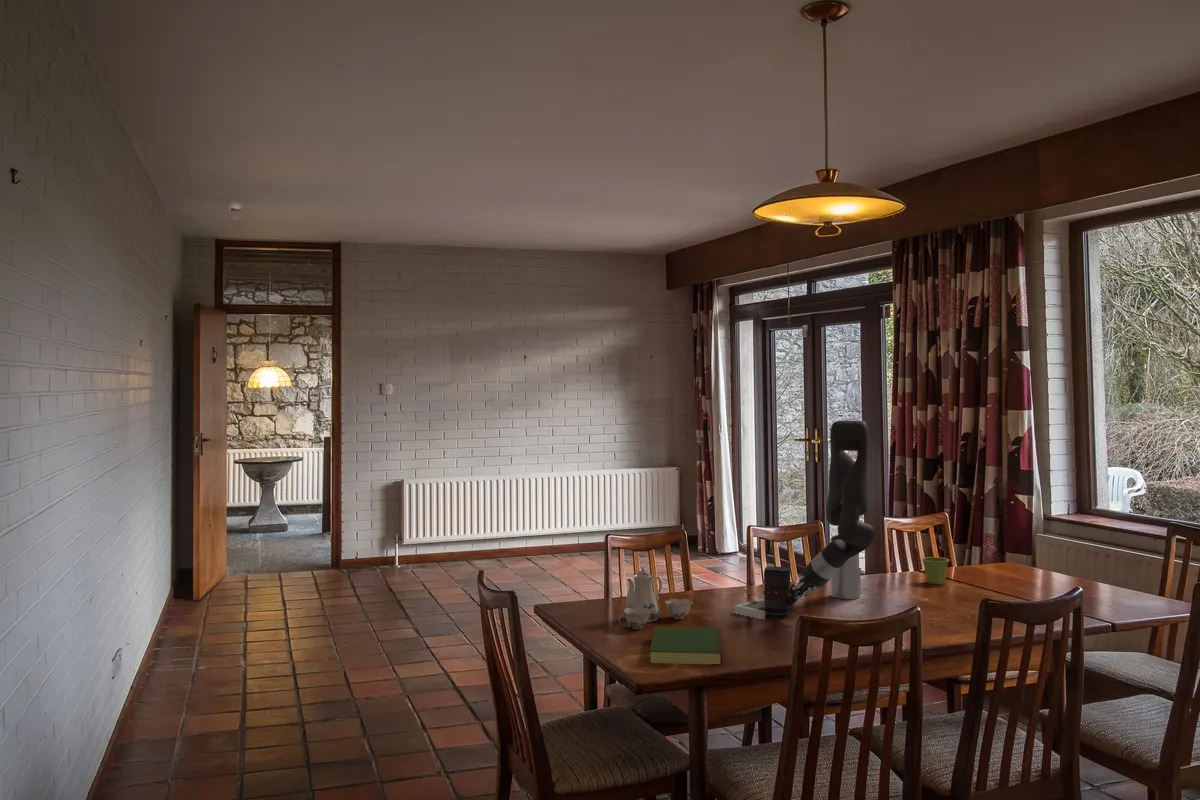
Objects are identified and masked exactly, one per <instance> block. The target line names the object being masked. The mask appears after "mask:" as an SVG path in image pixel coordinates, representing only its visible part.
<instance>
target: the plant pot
mask: <svg viewBox="0 0 1200 800" xmlns="http://www.w3.org/2000/svg"><path fill="white" fill-rule="evenodd" d="M921 560H922V563H923V567H924V572H925V578H926V579H925V581H926V583H927V584H929V585H933V584H934V585H944V584H945V583H946V576H947V568H948V564H949V562H950V559H949V558H945V557H939V556H937V557H935V556H927V557H922V558H921Z"/></svg>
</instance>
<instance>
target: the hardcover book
mask: <svg viewBox="0 0 1200 800" xmlns="http://www.w3.org/2000/svg"><path fill="white" fill-rule="evenodd" d="M722 635H723V634H722V628H719V627H718V628H716V627H715V628H713V627H677V626H676V627H671V626H669V627H667V626H654V629H653V634H652V639H651V643H650V645H649V646H650V647H649V651H648V652H650V664H670V665H671V664H672V665H673V664H676V665H711V664H721V665H720V666H723V636H722Z"/></svg>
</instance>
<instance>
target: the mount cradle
mask: <svg viewBox="0 0 1200 800" xmlns="http://www.w3.org/2000/svg"><path fill="white" fill-rule="evenodd" d="M762 607H763V608H762ZM733 608H734V609H733V614H734V613H736V614H735V615H738V614H740V616H743V615H744V617H747V616H749V617H748V618H752V617H754V618H753V619H756V618H758V620H761V619H763V620H766V619H765V617H766V614H765V613H766V611H765V610H762V609H765V606H764V598H759V599H755V600H751V601H748V602H747V601H746V602H744V603H741V604H735V605H734V607H733ZM759 608H760V609H759Z"/></svg>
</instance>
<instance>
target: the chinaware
mask: <svg viewBox="0 0 1200 800" xmlns="http://www.w3.org/2000/svg"><path fill="white" fill-rule="evenodd" d="M632 577H633V579H631V578H627V581H628V583H629V585H628V590H627V595H626V598H625V608H624V609H623V610H622V614H620V616H619V617H618V623H619V624H620V625H621V626H625V625H627V628H631V627H633V628H632V629H633V630H640V629H639V628H642V629H643V627H644V626H645V625H646V624H647V623H652V621H653V622H656V621H658V620H657V619H658V617H659V616H660V614H662V612H663V611H662V607H661V605H660V603H659V599H660V597H659V594H660V593H661V591H662V588H663V584H662V583H663V582H662V579H661V578H660V577H659V576H657V575H653V574H650V573H649V571H647V569H646V567H644V566H642V568H641V569H640V571H638V573H636V574H633V575H632ZM654 578H655V579H657V581H658V586H659V587H658V590H657V592H656V593H654V589H653V588H654V587H653V583H654V582H655V579H654ZM633 580H634V581H633ZM664 604H665V605H666V607H667V610H668V612H669V614H670V615H671V616H672V617H673V619H674V620H678V619H679V620H683V619H682V618H683V617H685V616H686V615H688V613H689V612H690V609H691V606H692V604H694V601H691V600H690V599H689V598H682V599H679V598H674V597H673V598H670V599H669V600H664ZM621 617H623V618H625V620H626V622H625V623H621ZM674 617H675V618H674ZM634 628H635V629H634Z"/></svg>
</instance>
